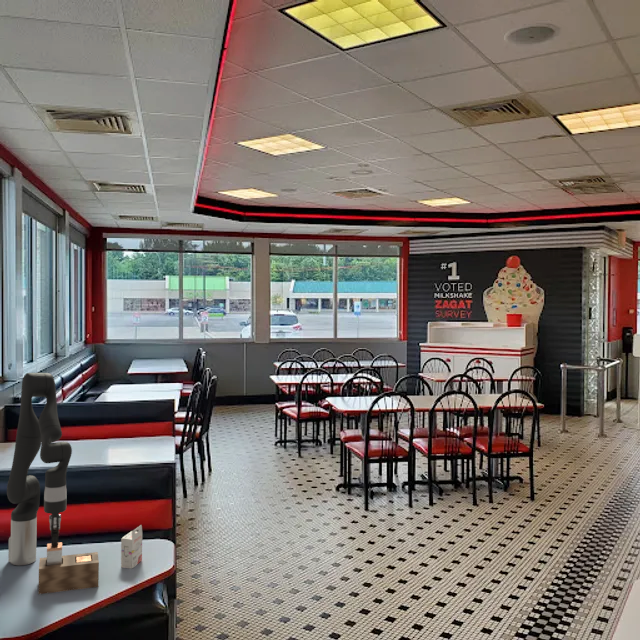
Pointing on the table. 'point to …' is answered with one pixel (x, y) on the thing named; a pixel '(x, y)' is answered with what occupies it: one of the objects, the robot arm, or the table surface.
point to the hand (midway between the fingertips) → (54, 545)
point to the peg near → (54, 554)
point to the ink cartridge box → (131, 548)
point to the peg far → (83, 559)
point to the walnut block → (69, 574)
